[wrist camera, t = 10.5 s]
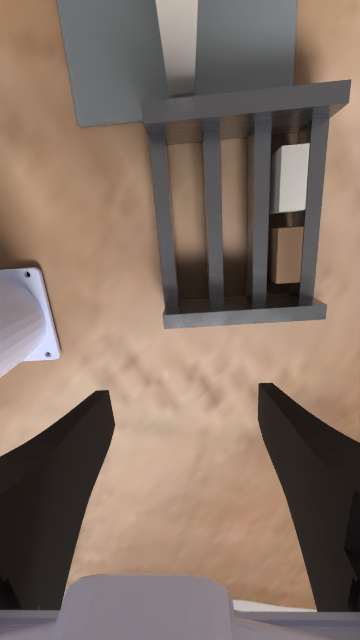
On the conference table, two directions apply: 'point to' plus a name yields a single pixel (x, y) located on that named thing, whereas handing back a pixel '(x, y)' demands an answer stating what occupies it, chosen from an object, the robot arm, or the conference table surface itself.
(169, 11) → the sheet
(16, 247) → the conference table surface
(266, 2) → the mat
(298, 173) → the offcut grey
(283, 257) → the offcut walnut
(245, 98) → the rack
